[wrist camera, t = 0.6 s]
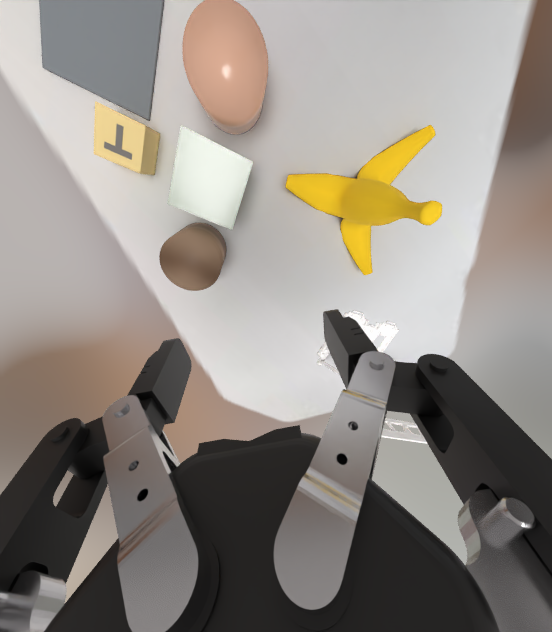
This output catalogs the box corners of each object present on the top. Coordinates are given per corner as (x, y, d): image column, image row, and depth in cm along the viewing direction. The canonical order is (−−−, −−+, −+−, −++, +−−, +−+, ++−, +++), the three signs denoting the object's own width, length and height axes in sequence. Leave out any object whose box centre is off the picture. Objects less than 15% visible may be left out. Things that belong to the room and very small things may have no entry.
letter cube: (118, 113, 25) (94, 100, 22) (160, 134, 27) (145, 125, 23) (115, 158, 27) (93, 153, 23) (154, 175, 29) (139, 173, 25)
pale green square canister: (199, 141, 27) (180, 124, 20) (252, 167, 29) (253, 162, 22) (187, 199, 30) (167, 204, 23) (235, 219, 32) (232, 230, 25)
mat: (38, -85, 19) (34, -90, 18) (164, -3, 22) (163, -6, 21) (45, 69, 23) (42, 67, 23) (149, 120, 26) (148, 119, 26)
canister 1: (209, 34, 23) (193, -29, 16) (272, 74, 25) (281, 33, 18) (194, 115, 26) (174, 91, 19) (250, 145, 28) (251, 133, 21)
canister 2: (183, 214, 31) (165, 223, 24) (232, 234, 33) (227, 247, 26) (173, 260, 34) (155, 279, 27) (219, 276, 36) (212, 297, 29)
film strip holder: (403, 326, 46) (496, 411, 29) (367, 373, 52) (425, 467, 35) (344, 306, 42) (410, 392, 25) (312, 361, 48) (347, 459, 31)
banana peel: (421, 133, 30) (584, 85, 15) (362, 269, 39) (429, 320, 24) (302, 89, 26) (369, -27, 12) (268, 249, 35) (282, 295, 21)
